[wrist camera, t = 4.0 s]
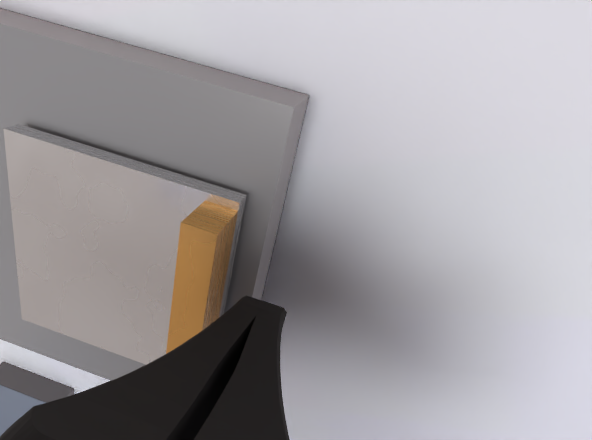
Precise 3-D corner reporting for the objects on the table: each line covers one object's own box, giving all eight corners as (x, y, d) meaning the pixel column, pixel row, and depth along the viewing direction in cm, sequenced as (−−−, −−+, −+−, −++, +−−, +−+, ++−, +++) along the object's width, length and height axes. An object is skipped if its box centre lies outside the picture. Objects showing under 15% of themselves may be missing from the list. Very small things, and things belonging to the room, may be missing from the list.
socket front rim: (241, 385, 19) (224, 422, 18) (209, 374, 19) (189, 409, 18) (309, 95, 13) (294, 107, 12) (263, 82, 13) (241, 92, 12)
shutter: (213, 374, 16) (187, 421, 14) (33, 309, 17) (-13, 346, 15) (246, 195, 13) (218, 226, 11) (19, 123, 13) (-43, 141, 12)
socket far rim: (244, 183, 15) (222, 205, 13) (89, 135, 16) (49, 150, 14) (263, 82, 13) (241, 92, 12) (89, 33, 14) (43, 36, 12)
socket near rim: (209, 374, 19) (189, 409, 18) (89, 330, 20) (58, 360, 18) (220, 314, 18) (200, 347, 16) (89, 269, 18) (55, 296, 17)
